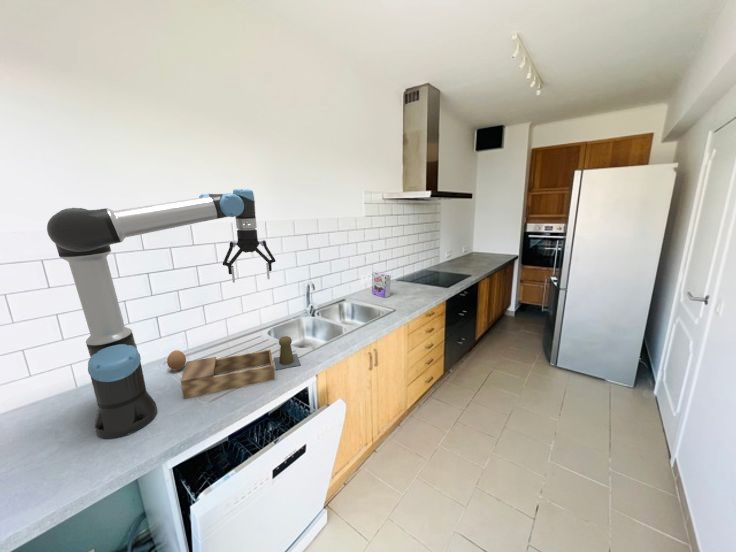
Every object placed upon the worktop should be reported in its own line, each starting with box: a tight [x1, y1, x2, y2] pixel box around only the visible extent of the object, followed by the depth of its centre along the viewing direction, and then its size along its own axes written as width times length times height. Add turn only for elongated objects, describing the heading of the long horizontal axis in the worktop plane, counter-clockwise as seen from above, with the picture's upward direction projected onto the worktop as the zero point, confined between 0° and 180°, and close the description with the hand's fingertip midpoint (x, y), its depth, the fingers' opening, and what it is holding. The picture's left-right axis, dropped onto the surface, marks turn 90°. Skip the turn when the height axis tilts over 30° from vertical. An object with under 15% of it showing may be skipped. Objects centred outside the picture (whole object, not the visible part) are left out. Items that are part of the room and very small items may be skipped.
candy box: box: [371, 271, 392, 299], centre depth 217 cm, size 14×6×16 cm, turn 43°
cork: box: [278, 335, 294, 365], centre depth 126 cm, size 6×6×11 cm
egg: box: [166, 349, 187, 371], centre depth 121 cm, size 6×6×8 cm
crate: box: [180, 349, 276, 399], centre depth 115 cm, size 31×14×7 cm, turn 113°
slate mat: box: [273, 353, 302, 371], centre depth 128 cm, size 10×10×1 cm
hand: (251, 280), depth 125 cm, fingers open, 13 cm apart
